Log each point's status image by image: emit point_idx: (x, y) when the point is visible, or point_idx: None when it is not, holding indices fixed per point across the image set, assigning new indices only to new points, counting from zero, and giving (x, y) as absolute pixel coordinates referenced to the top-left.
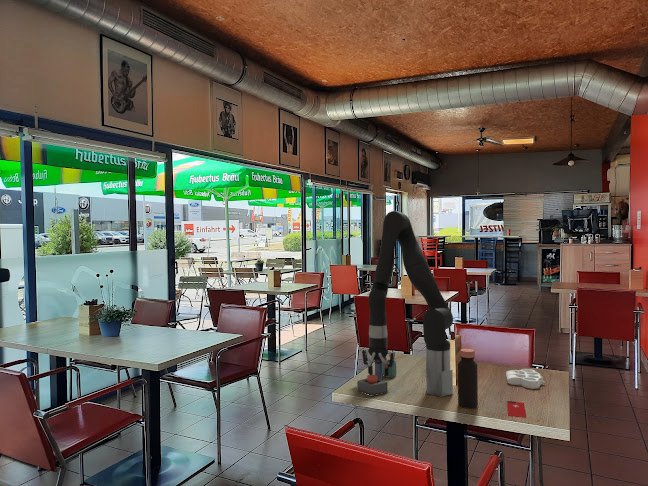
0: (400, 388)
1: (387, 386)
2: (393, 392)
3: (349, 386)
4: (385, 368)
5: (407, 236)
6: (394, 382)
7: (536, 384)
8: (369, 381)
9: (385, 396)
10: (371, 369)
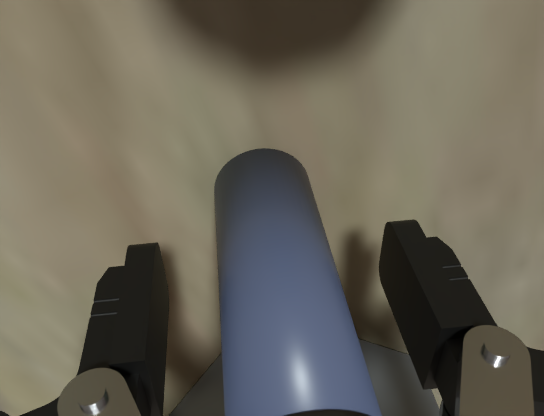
0: (534, 244)
1: (436, 404)
2: None
3: (32, 381)
4: (437, 384)
5: None
6: (463, 86)
7: None
8: None
9: None
10: (160, 353)
